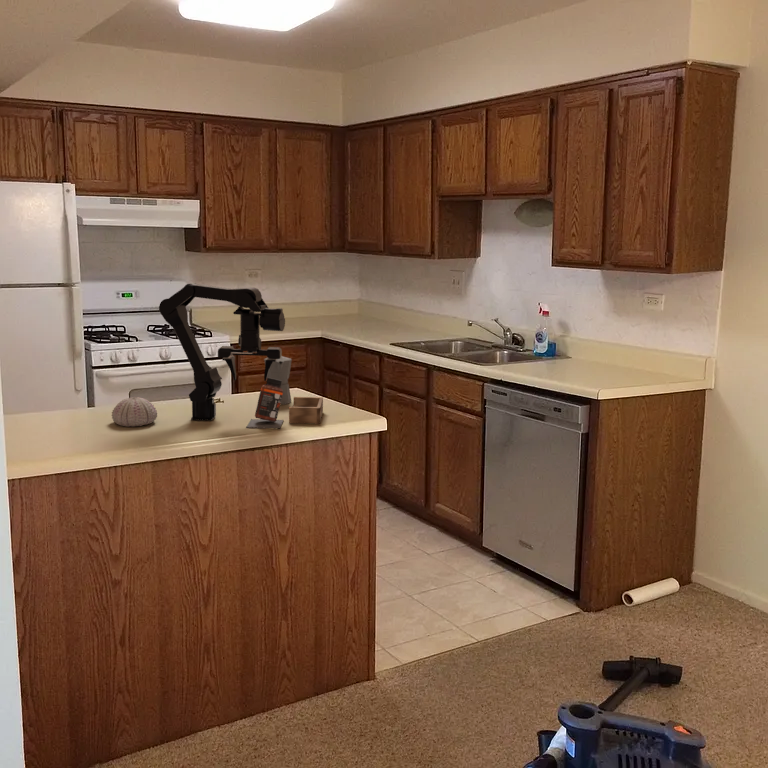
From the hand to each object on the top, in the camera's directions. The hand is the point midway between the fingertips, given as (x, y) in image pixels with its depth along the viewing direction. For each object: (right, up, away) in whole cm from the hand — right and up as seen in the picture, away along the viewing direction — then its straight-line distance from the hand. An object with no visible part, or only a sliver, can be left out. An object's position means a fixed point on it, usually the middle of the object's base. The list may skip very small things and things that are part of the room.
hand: (250, 380), depth 255 cm
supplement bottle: (+5, -12, -1) cm, 13 cm away
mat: (+5, -13, 0) cm, 14 cm away
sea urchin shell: (-34, -13, -3) cm, 37 cm away
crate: (+16, -12, +10) cm, 22 cm away
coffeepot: (+4, -7, +33) cm, 34 cm away
